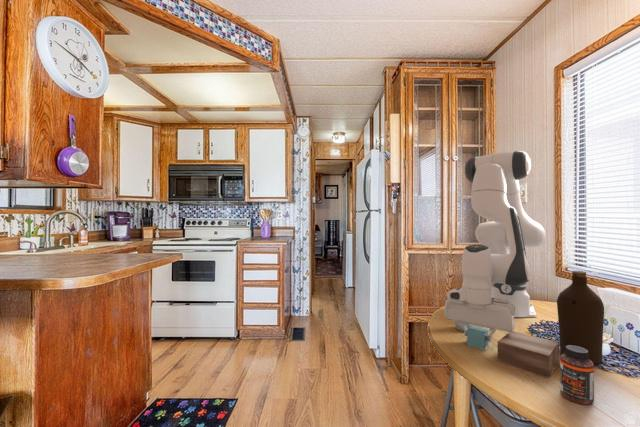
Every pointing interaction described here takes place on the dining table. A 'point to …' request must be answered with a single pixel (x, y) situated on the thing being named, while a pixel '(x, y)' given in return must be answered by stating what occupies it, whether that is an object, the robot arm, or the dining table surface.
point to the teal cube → (477, 337)
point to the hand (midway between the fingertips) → (477, 338)
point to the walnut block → (529, 353)
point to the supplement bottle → (577, 375)
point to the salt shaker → (458, 326)
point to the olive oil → (581, 317)
